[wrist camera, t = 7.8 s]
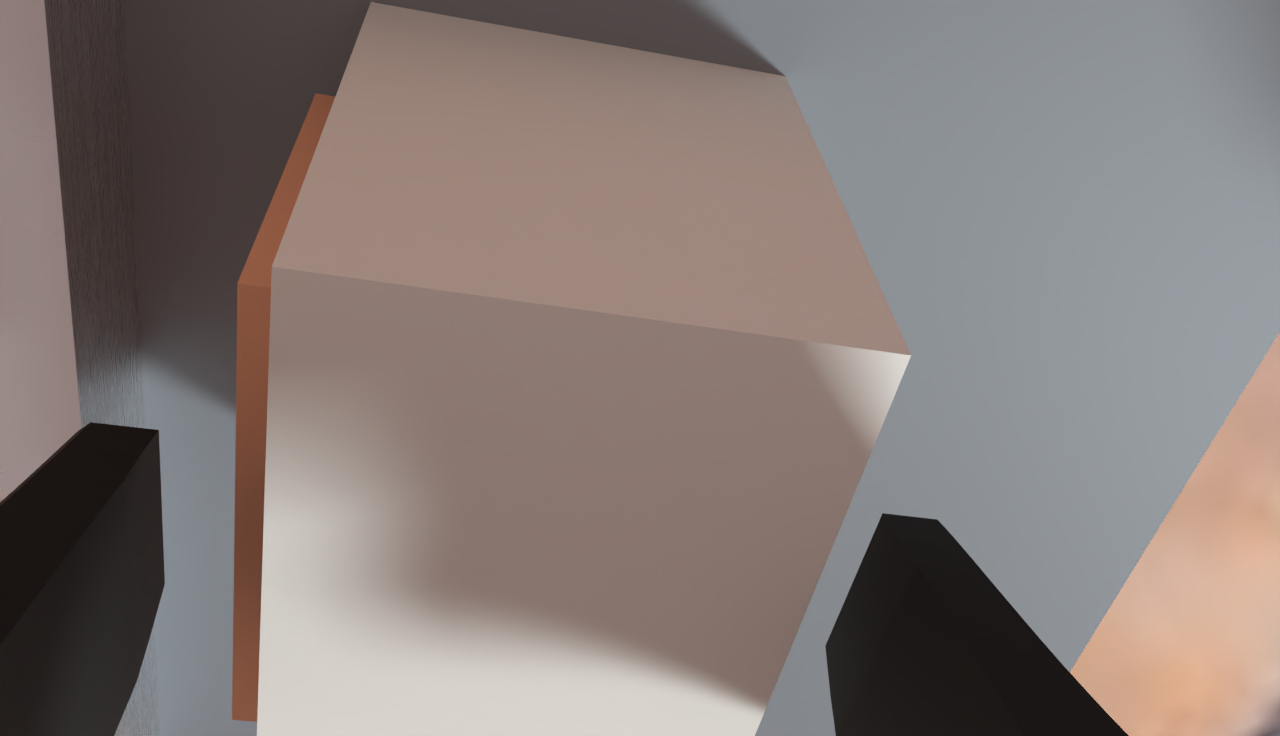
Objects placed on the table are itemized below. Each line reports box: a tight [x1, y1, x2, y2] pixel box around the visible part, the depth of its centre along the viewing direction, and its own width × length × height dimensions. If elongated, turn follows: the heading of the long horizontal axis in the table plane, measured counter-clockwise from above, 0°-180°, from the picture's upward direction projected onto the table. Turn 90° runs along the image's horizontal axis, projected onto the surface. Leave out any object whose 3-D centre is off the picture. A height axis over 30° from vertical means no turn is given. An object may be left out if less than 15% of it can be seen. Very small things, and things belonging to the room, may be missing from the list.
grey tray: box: [0, 0, 1280, 736], centre depth 17 cm, size 17×17×3 cm
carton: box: [232, 2, 911, 736], centre depth 13 cm, size 5×7×6 cm
